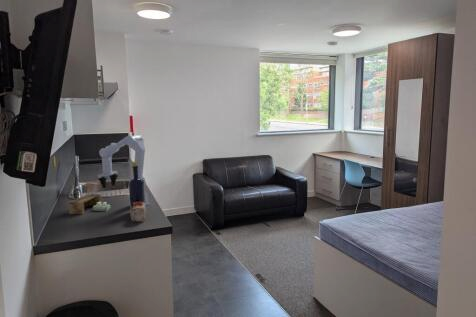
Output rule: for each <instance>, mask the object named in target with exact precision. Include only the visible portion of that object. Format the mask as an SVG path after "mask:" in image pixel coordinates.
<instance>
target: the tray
mask: <svg viewBox="0 0 476 317" xmlns="http://www.w3.org/2000/svg"><path fill="white" fill-rule="evenodd" d="M111 209H112V204H107V201H104V202H103V201H102V204H101V202H97V205H92V211H94V212H95V211H97V212H108V211H110V210H111Z"/></svg>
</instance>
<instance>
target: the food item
mask: <svg viewBox="0 0 476 317" xmlns="http://www.w3.org/2000/svg"><path fill="white" fill-rule="evenodd" d="M133 204H134V205H133V208H132V210H130V209H129V210H130V212H129V216H130V219H131V221H132V222H134V223H144V222H145V220H146V218H147V217H146V214H147V205H145V203H144V202H135V203H134V202H133Z"/></svg>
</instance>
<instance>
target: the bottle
mask: <svg viewBox="0 0 476 317" xmlns="http://www.w3.org/2000/svg"><path fill="white" fill-rule="evenodd" d="M137 165H138V164H137V162H135V161H132V166H131V168H132V173H133V174H132V175H133V176H134V179H131V178H130V180H129V182H128V193H129V194H128V196H129V210H132V208H133V205H134V204H133V202H134V203H135V202H144V203H145V193H144V192H145V188H144V182H143V181H142V180H141V179H139V178H138V166H137ZM133 176H132V177H133Z"/></svg>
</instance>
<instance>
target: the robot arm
mask: <svg viewBox="0 0 476 317" xmlns="http://www.w3.org/2000/svg"><path fill="white" fill-rule="evenodd" d="M126 145H127V146H128V147H129V148H130V149H132V150H133V151H134V153H135V154H134V162H137V164H138V165H137V166H138V178H139V179H141V180H142V181H143V182H144V189H145V188H146V184H147V183H146V178H145V177H144V176H143V174H144V164H145V163H144V162H145V151H146V148H145V139H144V138H143V136H142V135H141V134H135V135H134V134H133V135H127V136H125V137H124V138H123V139H121V140H120V141H118V142H117V143H116V142H110V144H109V145H106V146H105V148H104V147H103V148H101V149H99V152H98V154H99V156H100V157H101V163H102V173H100V174H97V180H98V182H100V184H101V187H102V189H106V188H107V177H109V178H110V184H111V186H112V187H113V186H115V185H116V181H117V178H118V177H119V175H118V171H117V170H113V164H112V163H113V162H112V159H113V154H116V153H117V152H118V151H120V148H122V147H124V146H126ZM131 179H134V176H131V178H130V180H131ZM144 193H145V205H146V206H147V205H150V203H149V197H148V196H149V195H148V193H147V192H146V191H144Z"/></svg>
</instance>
